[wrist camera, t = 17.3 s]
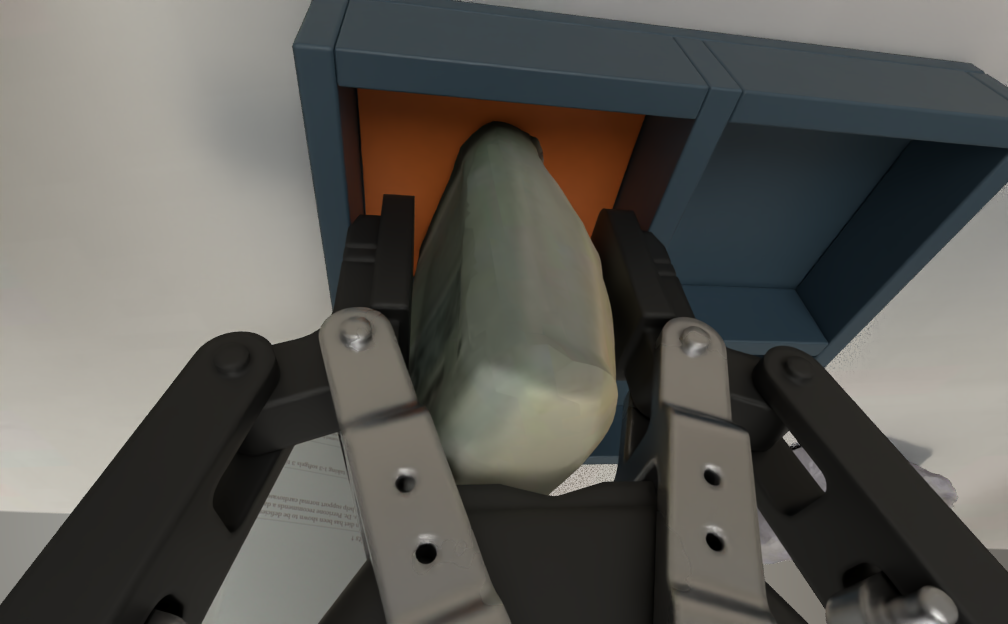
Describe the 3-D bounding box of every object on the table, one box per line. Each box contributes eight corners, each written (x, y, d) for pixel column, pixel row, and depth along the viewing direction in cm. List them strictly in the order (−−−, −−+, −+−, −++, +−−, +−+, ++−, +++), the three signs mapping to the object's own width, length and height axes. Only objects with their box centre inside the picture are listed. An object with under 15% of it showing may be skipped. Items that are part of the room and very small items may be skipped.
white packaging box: (215, 466, 26) (109, 822, 18) (269, 394, 22) (166, 814, 13) (355, 493, 30) (323, 799, 21) (424, 436, 25) (418, 787, 17)
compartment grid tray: (971, 62, 14) (1067, 123, 11) (708, 402, 25) (732, 462, 23) (318, -18, 11) (291, 43, 9) (363, 401, 23) (356, 469, 21)
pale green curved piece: (340, 121, 12) (293, 444, 7) (567, 73, 12) (704, 364, 6) (411, 291, 16) (416, 568, 11) (578, 258, 16) (664, 522, 11)
